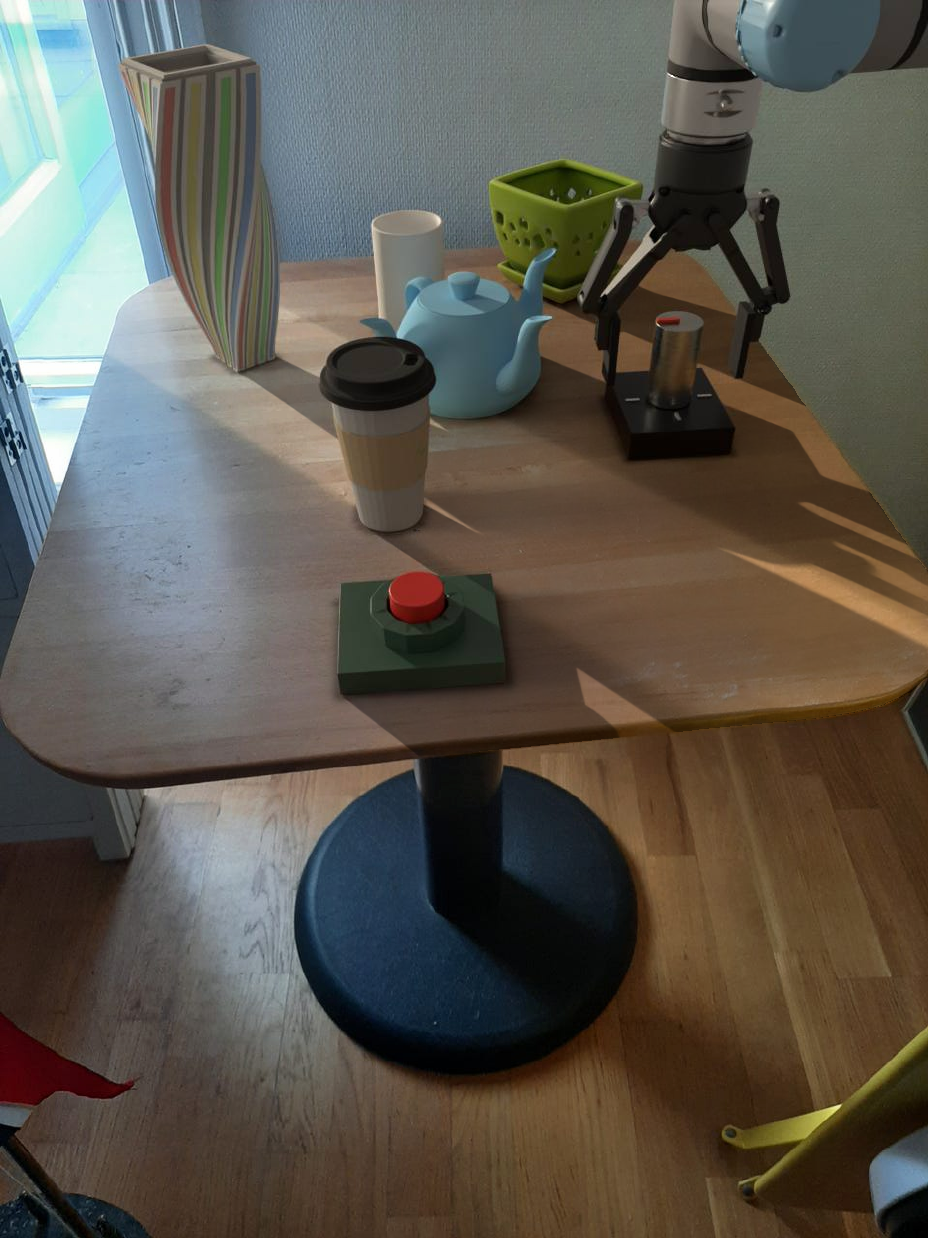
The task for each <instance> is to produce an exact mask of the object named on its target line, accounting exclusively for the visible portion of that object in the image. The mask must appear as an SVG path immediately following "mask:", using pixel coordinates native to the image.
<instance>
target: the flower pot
mask: <svg viewBox="0 0 928 1238" xmlns="http://www.w3.org/2000/svg"><path fill="white" fill-rule="evenodd" d="M571 189H572V190H573V191H574V192H575V194H574V196H573V197H572V198H571V196H569V192H570V190H571ZM643 192H644V183H642V182H641V181H639V180H635V179H633V178H630V177H627V176H625V175H621V174H618V173H616V172H612V171H609V170H606V169H603V168H599V167H597V166H593V165H590V164H586V163H583V162H580V161H576V160H572V159H568V158H560V159H554V160H552V161H551V160H550V161H548V162H543V163H540V164H537V165H533V166H529V167H525V168H523V169H522V168H521V169H519V170H515V171H513V172H508V173H506V174H504V175H500V176H497V177H495V178H493V179H491V180H490V181H489V183H488V194H489V205H490V212H491V217H492V223H493V227H494V232H495V235H496V238H497V241H498V243H499V246H500V248H501V250H502V253H503V255H504V257H505V259H506V260H504V261H501V262H500V263H498V264H497V268H498V270H499V272H500V274H501V275H502V276H503V277H504V278H505V279H506V280H509V281H510V282H512V283H513V284H516V285H518V286H519V287H522V288H523V285H524V280H525V276H526V273H527V270H528V268H529V266H530V264H531V262H532V261H533V260H534V259H535V257H537V256H538V255H539V254H540V253H542V252H544V251H545V250H548V249H551V248H555V249H556V252H555V254H554V256H553V257H552V258H551V260H550V262H549V263H548V265H547V267H546V270H545V272H544V277H543V287H542V292H543V298H545V299H546V298H547V299H549V300H551V301H553V302H556V303H558V304H565V303H566V302H569V301H572V300H574V299H576V298H577V296H578V293H579V291H580V289H581V287H582V285H583V283H584V280H585V278H586V276H587V274H588V272H589V270H590V268H591V266H592V263H593V261H594V259H595V257H596V255H597V253H598V251H599V249H600V247H601V244H602V242H603V240H604V238H605V236H606V234H607V232H608V230H609V228H610V225H611V223H612V218H613V210H614V202H615V199H616V198H617V197H618V196H620V195H625V196H626V197H627V198H628V200H642V197H643ZM582 199H583V200H582ZM633 229H634V228H632V229H631V233H632V232H633ZM631 233H630V235H631ZM623 266H624V265H623V264H621V263H619V262H617V264H616V266H615V268H614V270H613V272H612V274H611V276H610V278H609V280H608V282H607V284H606V286H605V287H607V286H608V285H609V284H610V283H611V281H612V280H613V279H614V278H615V276H616V275H617V274H618V273H619V271H620V270H621V269H622V268H623Z"/></svg>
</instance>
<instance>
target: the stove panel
mask: <svg viewBox="0 0 928 1238" xmlns="http://www.w3.org/2000/svg"><path fill="white" fill-rule="evenodd" d="M648 376H649V370H633V371H619V372H617V371H616V377H615V386H607V385H606V384H605V391H604V402H605V403H606V406H607V409H608V411H609V414H610V416H611V419H612V422H613V424H614V427H615V429H616V433H617V435H618V437H619V440H620V442H621V445H622V448H623V450H624V454H625V456H626V459H627V461H641V460H642V461H644V460H658V459H659V460H660V459H675V458H677V459H678V458H691V457H709V456H724V455H731V453H732V447H733V444H734V443H733V442H734V438H735V434H736V433H735V432H736V428H737V427H736V425H735V424H734V422H733V420H732V419H731V416H730V415H729V413H728V411H727V409H726V408H725V406H724V404H723V402H722V400H721V399H720V397H719V395H718V393H717V392H716V390H715V388H714V387H713V385H712V383H711V381H710V380H709V378H708V376H707V374H706V373H705V371H704V369H703V367H696V373H695V380H694V386H693V392H692V398H691V402H690V403H689V404H688V405H687V406H685V407H683V408H680V409H663V408H659V407H656V406H654V405H652V404H650V403H649V402H648V401H647V399H646V392H647V384H648Z"/></svg>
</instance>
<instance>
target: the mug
mask: <svg viewBox="0 0 928 1238" xmlns="http://www.w3.org/2000/svg"><path fill="white" fill-rule="evenodd" d="M371 236H372V248H373V249H372V250H373V260H374V271H375V282H376V293H377V294H376V295H377V305H378V318H382V319H385V320H386V321H388V322H389V323H390V324H391V326H392V327H393V329H394V331H395V333H396V334H397V332H398V329H399V327H400V325H401V323H402V321H403V319H404V317H405V315H406V313H407V308H406V302H405V288H406V285H407V284H408V282H409V281H411V280H412V279H415V278H417V277H427V278H429V279H431V280H432V281H433V282H434V283H436V282H439V281H442V280H446V269H445V268H446V267H445V244H444V243H445V241H444V221H443V218H442V217H441V216H440V215H439V214H436V213H434V212H430V211H428V210H427V211H426V210H419V209H403V210H395V211H390V212H387V213H383V214H381V215H378V216H376V217H375V218H374V219H373V220H372V221H371Z"/></svg>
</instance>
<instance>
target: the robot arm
mask: <svg viewBox="0 0 928 1238" xmlns="http://www.w3.org/2000/svg"><path fill="white" fill-rule="evenodd" d="M666 69H667V70H666V74H665V75H666V76H665V84H664V92H663V100H662V109H661V117H660V124H661V125H662V126H663V128H664V129H665V130H663V132H662V133H660V135H659V136H658V143H657V144H658V145H657V152H656V153H657V154H656V161H655V169H654V170H655V171H654V180H653V188H652V190H651V193H650V194H649V196H648V198H647V199H641V200H628V198H627V197H626V196H625V195H620V196H618V197H617V198H616V199H615V202H614V210H613V218H612V223H611V225H610V228H609V230H608V232H607V234H606V236H605V238H604V240H603V242H602V244H601V247H600V249H599V251H598V253H597V255H596V257H595V259H594V261H593V263H592V266H591V268H590V270H589V272H588V274H587V276H586V278H585V280H584V283H583V285H582V287H581V289H580V291H579V293H578V296H577V299H576V300H577V302H578V304H579V307H580V309H581V312H582V313H583V314H585V315H590V314H591V315H594V316H595V324H594V337H593V340H594V342H595V346H596V348H597V350H598V351H603V356H602V364H601V365H602V368H601V375H602V377H603V379H604V382H605V386H606V385H607V386H615V377H616V372H617V366H618V356H619V346H620V335H621V326H622V320H621V317H620V315H619V313H618V311H619V309H620V308H621V307H622V306H623V305H624V303H625V302H626V301H627V300H628V298H629V297H630V296H631V295H632V293H633V292H634V291H635V290H636V289H637V288H638V286H639V285H640V284H641V282H642V281H643V280H644V279H645V277H646V276H647V275H648V274H649V272H651V270H652V269H653V268H654V267H655V266H656V264H657V263H658V262H659V261H661V260H663V259H664V258H665V257H666V256H667V254H668V253H669V252H670V251H671V249H672V250H674V252H675V253H679V252H680V253H682V252H683V253H684V252H688V251H690V250H698V251H701V252H703V251H711V250H712V248H713V247H715V246H717V245H718V246H719V248H720V250H721V252H722V254H723V255H724V257H725V259H726V261H727V263H728V265H729V266H730V268H731V269H732V271H733V273H734V275H735V276H736V278H737V280H738V282H739V284H740V285H741V287H742V289H743V291H744V293H745V294H746V296H747V298H748V299H749V301H747V300H746V301H739V302H738V307H737V313H736V317H735V321H734V328H733V334H732V339H731V344H730V349H729V355H728V361H727V368H728V369H729V371H730V373H731V374H732V376H733V378H734V379H735V380H743V379H744V376H745V372H746V371H745V369H746V366H747V365H746V364H747V360H748V356H749V350H750V345H751V343H758V342H759V340H760V339H761V336H762V331H763V327H764V322H765V317H766V316H767V315H769V314H771V312H772V310H773V306H775V305H776V304H779V305H784V304H786V303H788V302H789V301H790V299H791V290H790V286H789V282H788V277H787V271H786V265H785V261H784V256H783V255H784V254H783V251H782V246H781V241H780V240H781V239H780V235H779V230H778V226H777V224H778V217H779V212H780V205H781V201H780V199H779V198H778V197H777V195H775V194H774V193H773V192H772V190H770V189H769V188H767V187H764V188H761V189H760V190H759V191H758V192H757V193H751V194H746V192H745V187H746V183H747V178H748V173H749V166H750V161H751V155H752V149H753V144H754V140H753V138H752V136H751V134H750V133H749V132H751V131H752V130H753V129H755V127H756V126H757V125H756V124H757V120H758V119H757V118H758V115H759V114H758V113H759V108H760V102H761V97H762V90H763V85H764V83H769V84H770V85H771V86H773V87H774V88H779V89H783V90H785V89H786V90H789V91H791V92H795V93H796V92H797V93H813V92H819V91H822V90H825V89H827V88H828V87H830V86H832V85H835V84H836V83H837V82H838V81H840V80H841V79H843V78H845V77H847V76H848V75H849V74H862V73H875V72H877V73H878V72H884V71H894V70H896V71H897V70H911V69H928V0H674V1H673V10H672V20H671V30H670V38H669V49H668V60H667V68H666ZM746 211H748V216H749V218H750V219H751V220H752V221H753V222H754V226H755V231H756V236H757V240H758V243H759V244H758V245H759V250H760V254H761V259H762V264H763V268H764V269H763V270H764V273H765V279H766V283H767V286H765V287H761V284H760V283H759V281H758V279H757V278H756V275H755V274H754V272H753V271H752V269H751V266H750V265H749V263H748V261H747V259H746V257H745V256H744V254H743V253H742V252H743V251H742V250H741V249H740V248H741V247H740V246H739V244H738V242H737V240H736V239H735V236H734V235H733V233H732V232H731V230H732V228H733V227H734V226H735V225H736V224H737V222H738V221H739V220H740V219H741V217H743V216H744V214H745V213H746ZM646 216H648V218H649V219H650V221H651V223H652V224H653V225H652V226H651V227H650V229H649V230H648V231H647V232H646V234H645V235H644V236H643V238H642V242H641V244H640V245H639V246H638V247H637V248H636V250H635V251H634V253H632V255H631V256H630V257H629V259H628V260H627V261H626V262H625V264H624V265H623V268H622V269H621V270H620V271H619V273H618V274H617V275H616V276H615V278H614V279H613V280H612V281H611V283H610V284H609V285H608V286H606V284H607V282H608V280H609V278H610V276H611V274H612V272H613V270H614V268H615V266H616V264H617V263H619V260H620V258H621V256H622V254H623V251H624V249H625V247H626V245H627V243H628V242H629V239H630V236H631V234H630V233H632V231H631V229H632V228H633V229H634V228H637V227H638V225H639V224H640V221H641V220H642V218H644V217H646ZM633 229H632V230H633Z"/></svg>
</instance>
